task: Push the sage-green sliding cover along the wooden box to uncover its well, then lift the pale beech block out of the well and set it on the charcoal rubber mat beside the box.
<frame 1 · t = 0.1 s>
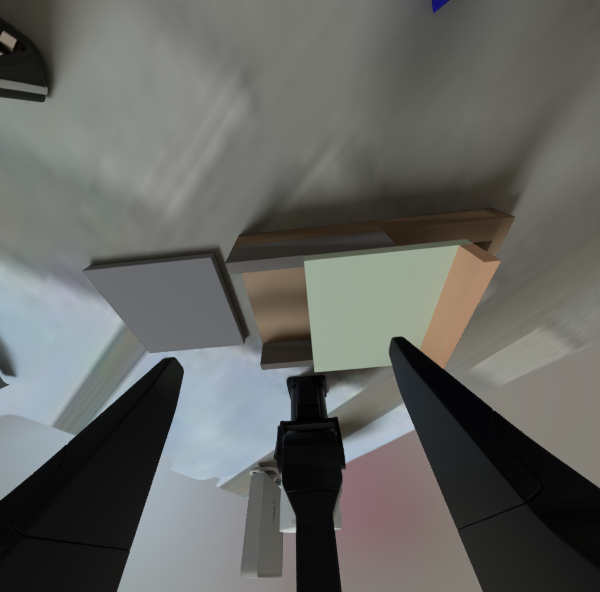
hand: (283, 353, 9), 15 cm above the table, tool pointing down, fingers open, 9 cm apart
sliding cover: (379, 329, 19), point 7 cm above the table, slide at 6.0 cm
charcoal mat: (178, 307, 26), on the table
supplement box: (306, 440, 53), on the table
network device: (269, 475, 70), on the table
wooden box: (358, 283, 25), on the table
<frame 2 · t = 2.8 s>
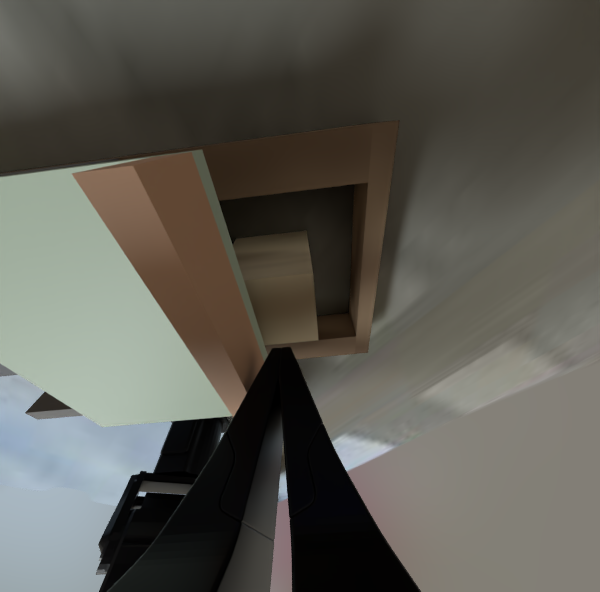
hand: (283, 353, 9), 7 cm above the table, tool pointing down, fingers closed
sliding cover: (114, 369, 9), point 7 cm above the table, slide at 6.6 cm, touching gripper
beech block: (277, 265, 15), resting in wooden box
wooden box: (190, 275, 15), on the table
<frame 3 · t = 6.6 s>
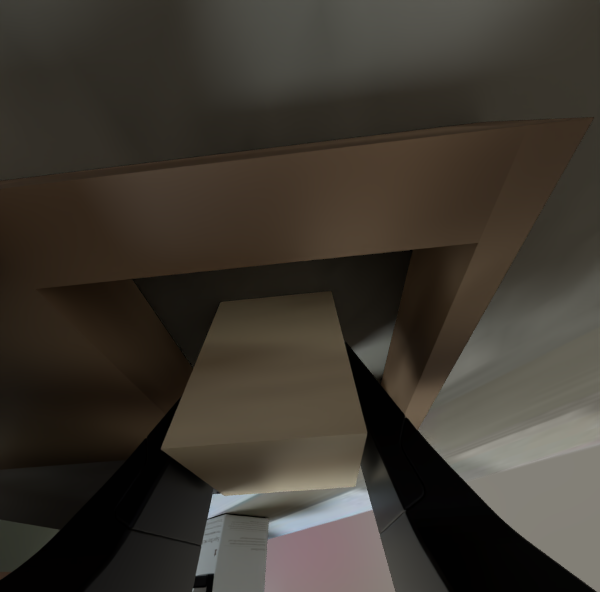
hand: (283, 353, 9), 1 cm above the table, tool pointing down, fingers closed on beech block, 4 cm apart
beech block: (283, 334, 10), resting in wooden box, touching gripper
supplement box: (234, 517, 38), on the table
wooden box: (155, 346, 10), on the table
when the fingers open (3 cm above the table, at t = 10.6 s): beech block drops 1 cm, resting on charcoal mat.
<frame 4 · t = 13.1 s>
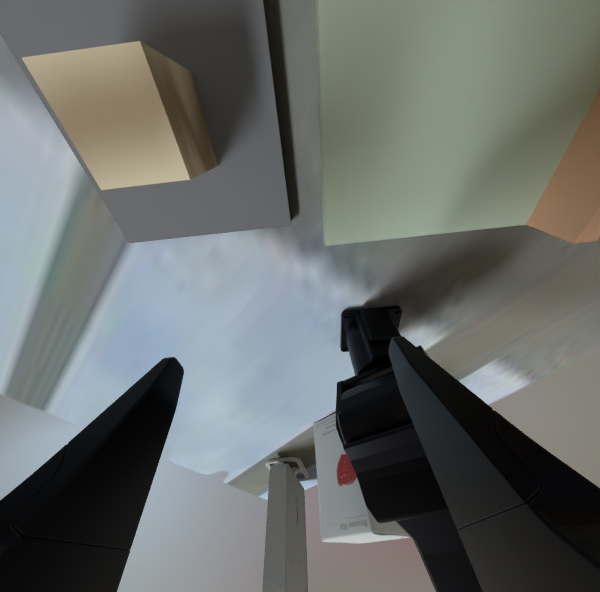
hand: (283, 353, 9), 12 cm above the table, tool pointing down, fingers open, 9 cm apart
sliding cover: (505, 38, 7), point 7 cm above the table, slide at 13.0 cm
charcoal mat: (178, 131, 14), on the table
beech block: (170, 128, 13), point 1 cm above the table, touching charcoal mat
supplement box: (344, 420, 41), on the table
network device: (288, 468, 58), on the table
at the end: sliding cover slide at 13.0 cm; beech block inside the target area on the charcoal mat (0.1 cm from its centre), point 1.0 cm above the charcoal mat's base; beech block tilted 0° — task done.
